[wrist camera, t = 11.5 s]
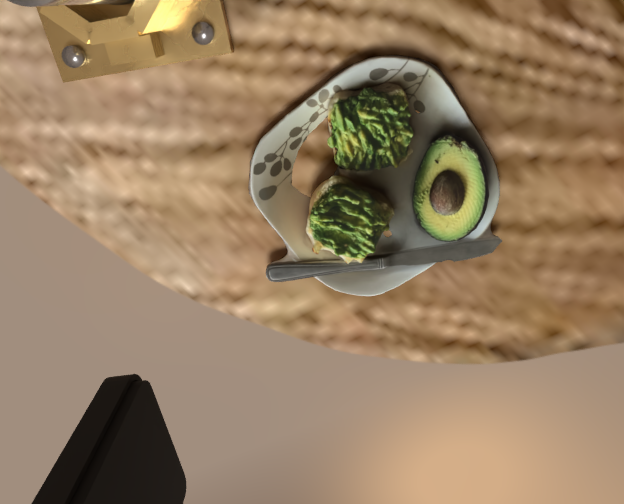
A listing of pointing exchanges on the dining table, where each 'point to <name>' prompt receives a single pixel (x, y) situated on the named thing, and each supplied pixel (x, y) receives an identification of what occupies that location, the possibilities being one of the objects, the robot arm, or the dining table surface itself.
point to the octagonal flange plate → (133, 35)
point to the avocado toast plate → (379, 180)
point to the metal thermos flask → (68, 2)
